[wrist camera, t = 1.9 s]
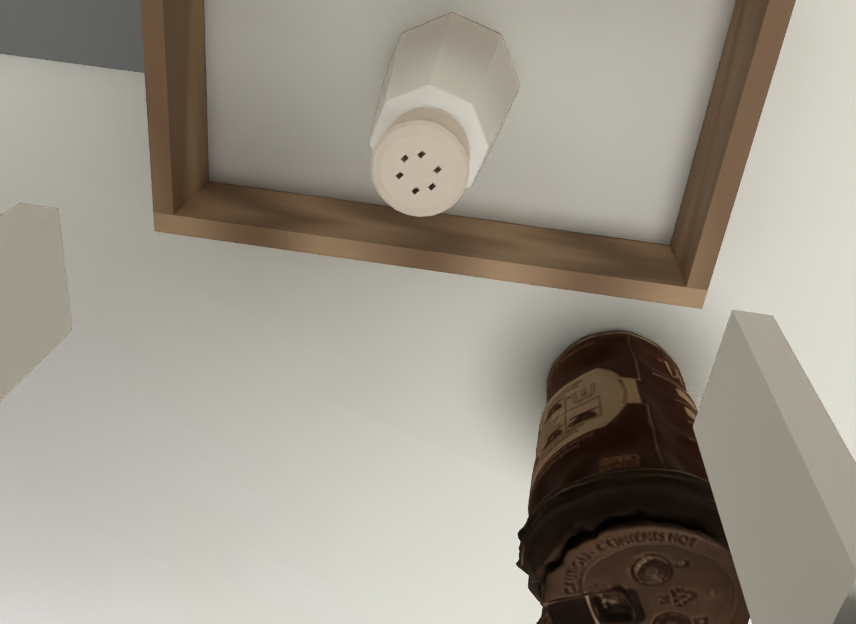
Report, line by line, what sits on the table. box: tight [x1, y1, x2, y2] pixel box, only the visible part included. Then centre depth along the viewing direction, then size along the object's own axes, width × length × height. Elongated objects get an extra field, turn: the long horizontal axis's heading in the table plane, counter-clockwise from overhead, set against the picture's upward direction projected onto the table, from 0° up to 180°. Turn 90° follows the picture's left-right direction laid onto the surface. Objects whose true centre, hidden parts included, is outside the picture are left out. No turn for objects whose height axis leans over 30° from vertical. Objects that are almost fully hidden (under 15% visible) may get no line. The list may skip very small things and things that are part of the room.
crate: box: [140, 0, 796, 309], centre depth 30 cm, size 22×13×4 cm, turn 84°
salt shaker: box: [369, 13, 520, 217], centre depth 27 cm, size 5×5×11 cm
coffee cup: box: [516, 332, 750, 624], centre depth 32 cm, size 9×8×13 cm
